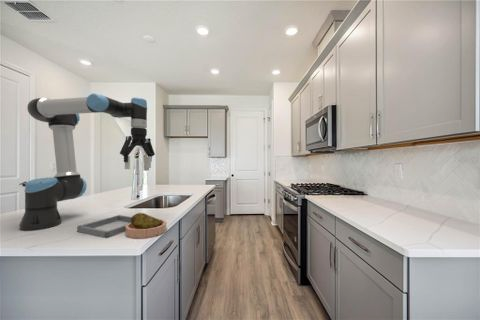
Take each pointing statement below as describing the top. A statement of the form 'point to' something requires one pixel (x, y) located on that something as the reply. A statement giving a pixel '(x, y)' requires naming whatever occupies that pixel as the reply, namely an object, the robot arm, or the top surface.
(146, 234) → the bowl
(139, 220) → the pear
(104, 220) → the tray
